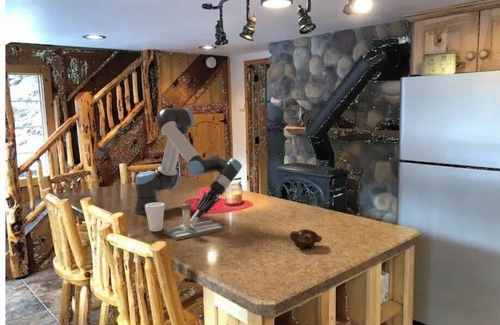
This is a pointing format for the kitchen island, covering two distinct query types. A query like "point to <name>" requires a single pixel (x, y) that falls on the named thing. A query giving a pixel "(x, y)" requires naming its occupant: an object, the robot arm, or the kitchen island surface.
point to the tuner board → (198, 227)
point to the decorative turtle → (305, 238)
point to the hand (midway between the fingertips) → (192, 222)
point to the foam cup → (155, 215)
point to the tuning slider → (186, 217)
